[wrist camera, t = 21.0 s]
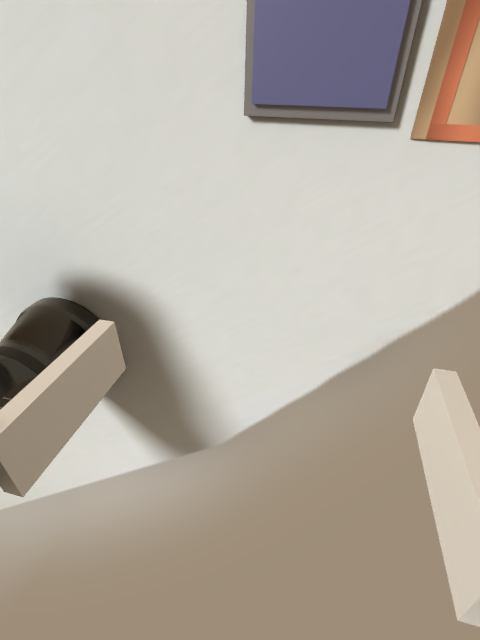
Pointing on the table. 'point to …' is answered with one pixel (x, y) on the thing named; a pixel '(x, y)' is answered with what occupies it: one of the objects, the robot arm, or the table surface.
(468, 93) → the print sheet
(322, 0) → the ink pad
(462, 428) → the robot arm
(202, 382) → the table surface
